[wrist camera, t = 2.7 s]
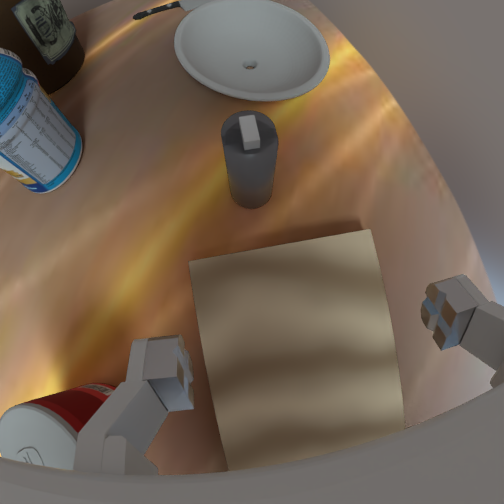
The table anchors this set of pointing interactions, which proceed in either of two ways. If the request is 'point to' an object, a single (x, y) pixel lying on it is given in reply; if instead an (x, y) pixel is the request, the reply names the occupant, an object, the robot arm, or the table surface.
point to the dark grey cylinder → (250, 157)
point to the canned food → (50, 425)
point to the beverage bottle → (33, 130)
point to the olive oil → (41, 40)
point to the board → (298, 349)
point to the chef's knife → (187, 3)
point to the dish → (252, 49)
